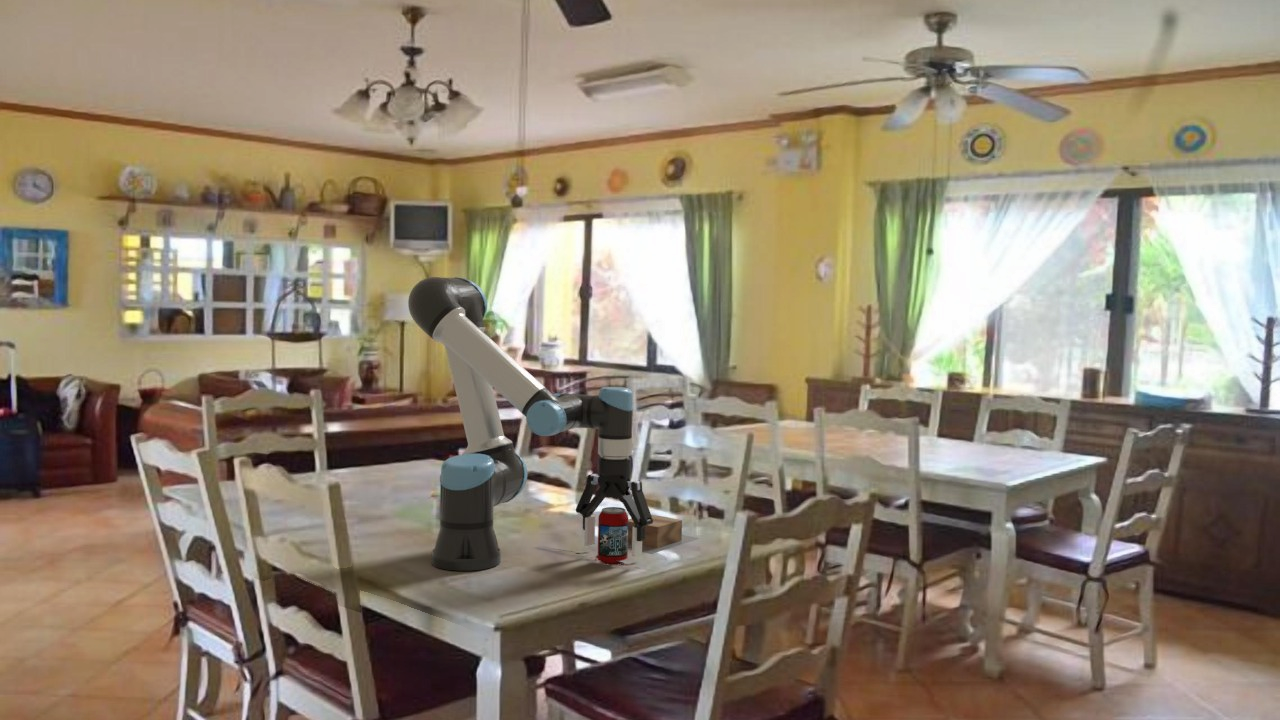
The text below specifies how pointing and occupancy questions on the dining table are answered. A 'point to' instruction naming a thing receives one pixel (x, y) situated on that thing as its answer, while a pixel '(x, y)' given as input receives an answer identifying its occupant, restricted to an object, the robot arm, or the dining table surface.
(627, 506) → the robot arm
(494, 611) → the dining table surface
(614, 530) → the beverage can
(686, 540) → the flat plate
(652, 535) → the walnut block
